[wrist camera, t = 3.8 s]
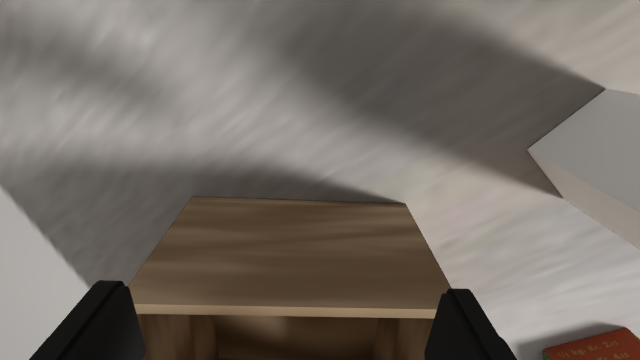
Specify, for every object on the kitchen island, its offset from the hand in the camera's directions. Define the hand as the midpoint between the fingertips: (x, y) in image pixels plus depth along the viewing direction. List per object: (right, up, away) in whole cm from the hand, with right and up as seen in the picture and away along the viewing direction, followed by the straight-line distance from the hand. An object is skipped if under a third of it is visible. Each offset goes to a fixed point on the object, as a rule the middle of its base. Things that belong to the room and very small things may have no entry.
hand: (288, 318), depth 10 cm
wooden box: (-1, -5, +18) cm, 18 cm away
